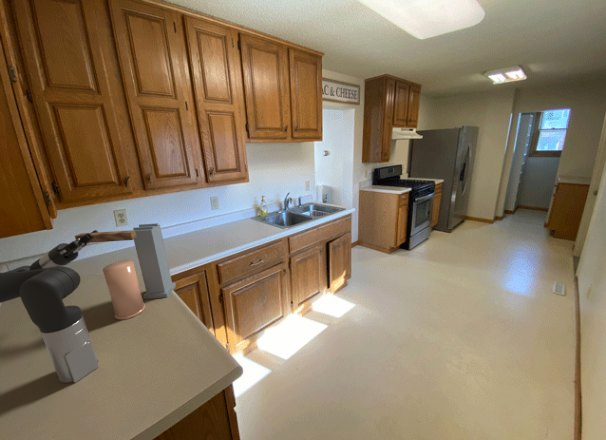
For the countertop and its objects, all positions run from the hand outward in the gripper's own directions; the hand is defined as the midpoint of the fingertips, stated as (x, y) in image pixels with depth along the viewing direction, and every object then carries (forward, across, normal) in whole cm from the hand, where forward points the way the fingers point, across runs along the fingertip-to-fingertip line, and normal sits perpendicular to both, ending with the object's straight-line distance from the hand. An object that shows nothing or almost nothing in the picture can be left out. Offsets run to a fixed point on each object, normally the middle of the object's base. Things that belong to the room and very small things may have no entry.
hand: (94, 233), depth 97 cm
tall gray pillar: (-7, -13, -36) cm, 39 cm away
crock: (-12, 0, -33) cm, 35 cm away
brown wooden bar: (+2, 0, -5) cm, 5 cm away
